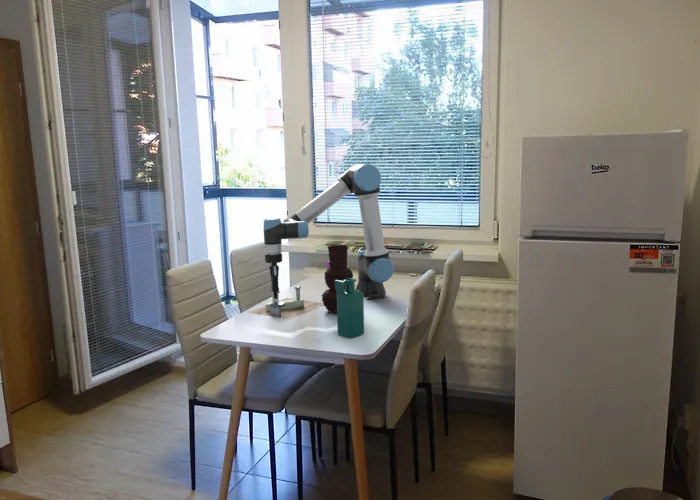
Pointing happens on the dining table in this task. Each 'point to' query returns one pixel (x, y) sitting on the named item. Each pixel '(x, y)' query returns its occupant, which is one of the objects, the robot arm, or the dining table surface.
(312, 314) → the dining table surface
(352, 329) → the green bottle
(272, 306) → the block
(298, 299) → the peg
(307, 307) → the board
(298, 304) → the link
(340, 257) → the vase
